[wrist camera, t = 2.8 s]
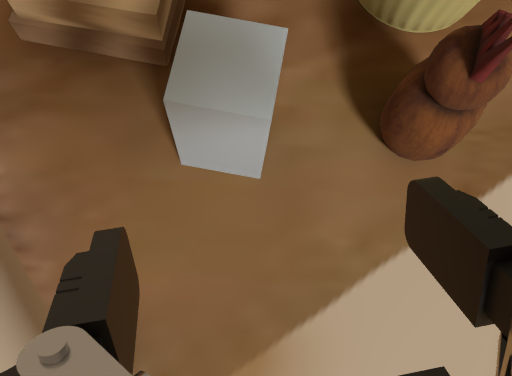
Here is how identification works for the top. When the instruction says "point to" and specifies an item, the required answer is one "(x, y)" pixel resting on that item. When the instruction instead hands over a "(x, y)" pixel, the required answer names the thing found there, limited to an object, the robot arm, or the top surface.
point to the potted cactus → (418, 13)
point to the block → (224, 92)
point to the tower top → (100, 15)
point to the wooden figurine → (448, 90)
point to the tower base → (103, 38)
